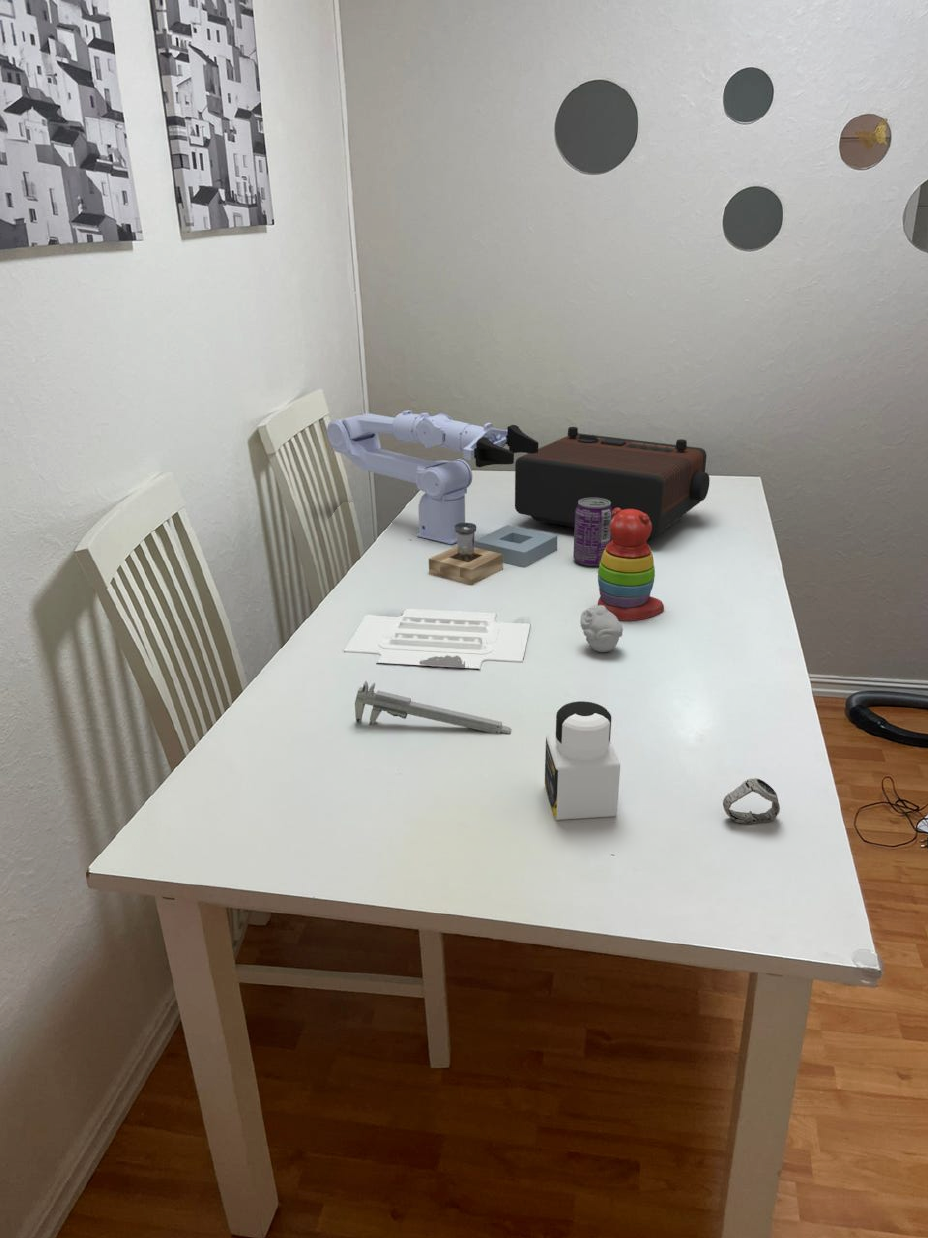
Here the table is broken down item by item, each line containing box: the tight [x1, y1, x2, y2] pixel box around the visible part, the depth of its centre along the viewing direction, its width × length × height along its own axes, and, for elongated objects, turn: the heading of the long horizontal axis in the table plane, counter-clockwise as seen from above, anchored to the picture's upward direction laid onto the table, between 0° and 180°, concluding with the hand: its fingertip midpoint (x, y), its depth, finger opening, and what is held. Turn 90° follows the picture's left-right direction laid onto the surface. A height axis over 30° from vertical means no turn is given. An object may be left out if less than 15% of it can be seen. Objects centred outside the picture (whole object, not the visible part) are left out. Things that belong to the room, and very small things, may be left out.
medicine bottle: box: [544, 700, 621, 821], centre depth 101 cm, size 7×7×12 cm
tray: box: [343, 608, 531, 670], centre depth 143 cm, size 20×28×4 cm
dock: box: [474, 524, 558, 568], centre depth 179 cm, size 12×12×3 cm
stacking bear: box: [596, 508, 665, 621], centre depth 149 cm, size 11×10×18 cm
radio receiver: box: [514, 426, 710, 541], centre depth 192 cm, size 35×27×18 cm
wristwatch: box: [722, 777, 781, 826], centre depth 99 cm, size 4×6×5 cm, turn 95°
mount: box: [428, 545, 504, 586], centre depth 169 cm, size 10×10×3 cm
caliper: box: [354, 680, 512, 735], centre depth 117 cm, size 21×1×6 cm, turn 82°
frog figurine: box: [579, 604, 624, 653], centre depth 137 cm, size 6×7×7 cm
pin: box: [455, 522, 477, 562], centre depth 168 cm, size 4×4×8 cm
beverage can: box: [572, 498, 613, 567], centre depth 171 cm, size 7×7×12 cm
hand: (525, 452), depth 168 cm, fingers open, 7 cm apart
